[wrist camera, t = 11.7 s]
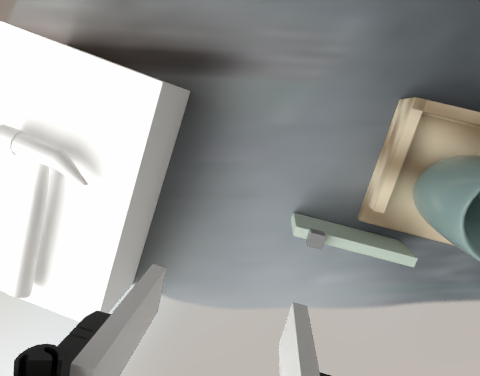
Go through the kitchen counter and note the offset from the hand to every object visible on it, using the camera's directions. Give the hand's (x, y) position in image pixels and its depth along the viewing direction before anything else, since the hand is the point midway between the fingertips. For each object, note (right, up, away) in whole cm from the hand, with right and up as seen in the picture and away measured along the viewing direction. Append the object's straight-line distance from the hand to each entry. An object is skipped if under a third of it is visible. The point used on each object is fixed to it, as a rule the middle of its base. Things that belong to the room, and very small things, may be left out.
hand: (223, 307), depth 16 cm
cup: (+22, +6, +15) cm, 27 cm away
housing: (+22, +7, +15) cm, 28 cm away
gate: (+13, +2, +18) cm, 22 cm away
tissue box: (-15, +8, +20) cm, 26 cm away
